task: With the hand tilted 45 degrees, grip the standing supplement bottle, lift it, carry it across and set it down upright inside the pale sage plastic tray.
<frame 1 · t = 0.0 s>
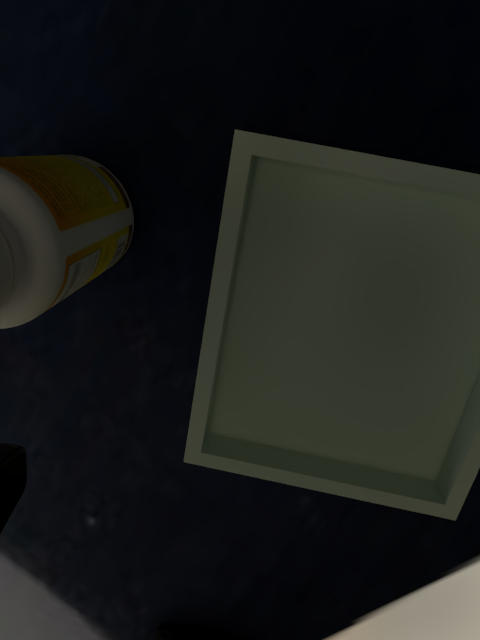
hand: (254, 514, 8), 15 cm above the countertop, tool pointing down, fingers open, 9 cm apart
supplement bottle: (84, 215, 22), on the countertop
tray: (352, 329, 22), on the countertop
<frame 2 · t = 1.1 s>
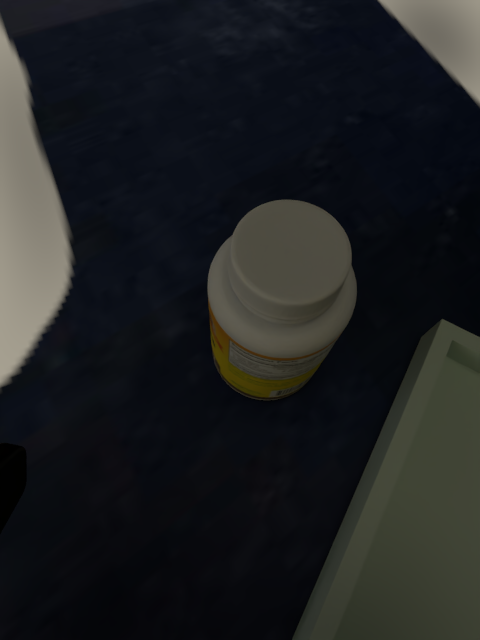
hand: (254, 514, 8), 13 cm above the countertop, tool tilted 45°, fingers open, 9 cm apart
supplement bottle: (263, 352, 24), on the countertop
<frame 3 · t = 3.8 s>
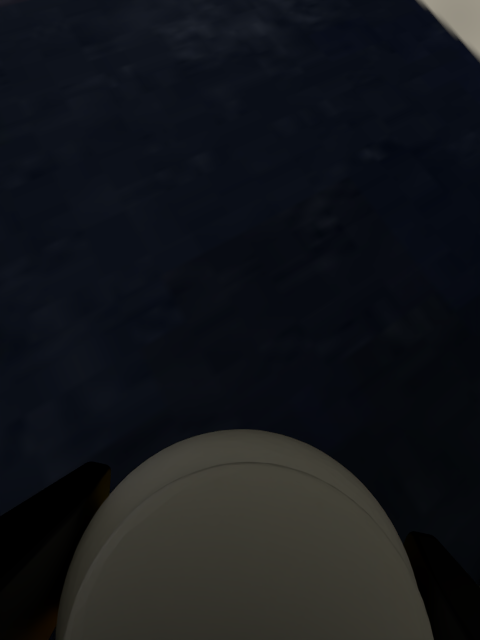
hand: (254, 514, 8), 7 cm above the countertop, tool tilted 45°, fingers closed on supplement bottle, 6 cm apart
supplement bottle: (231, 562, 14), on the countertop, touching gripper
when the fingers open (9 cm above the countertop, at t = 7.5 s): supplement bottle drops 1 cm, resting on tray.
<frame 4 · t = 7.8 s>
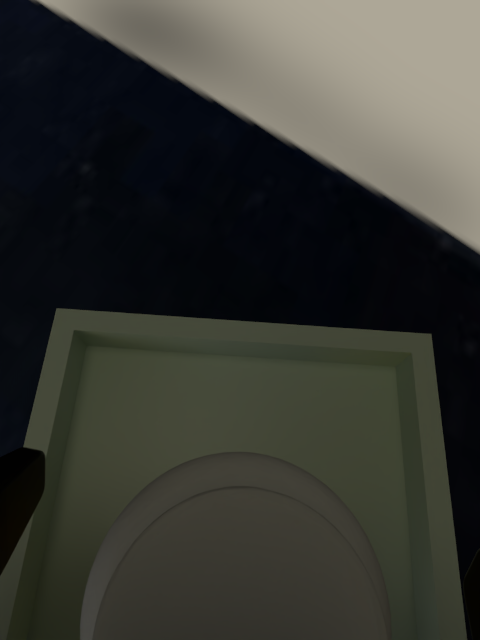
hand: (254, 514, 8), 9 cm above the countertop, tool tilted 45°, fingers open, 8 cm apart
supplement bottle: (229, 564, 15), point 1 cm above the countertop, touching tray
tray: (229, 556, 16), on the countertop
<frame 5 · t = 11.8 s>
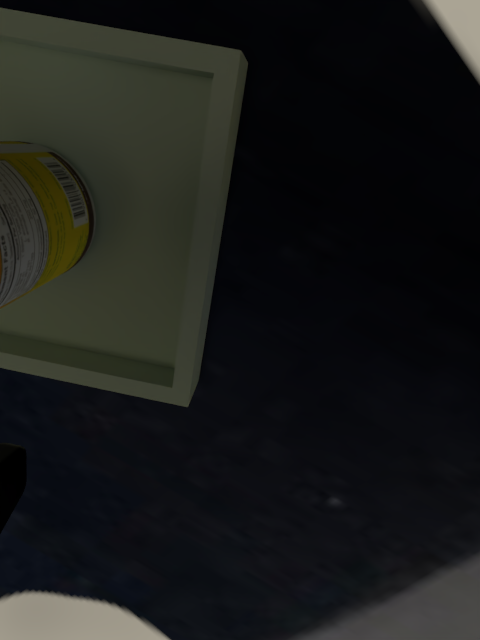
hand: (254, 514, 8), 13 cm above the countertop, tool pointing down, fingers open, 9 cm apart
supplement bottle: (42, 210, 20), point 1 cm above the countertop, touching tray
tray: (44, 208, 20), on the countertop
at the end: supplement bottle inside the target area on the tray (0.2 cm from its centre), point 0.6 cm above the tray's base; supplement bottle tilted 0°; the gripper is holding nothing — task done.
